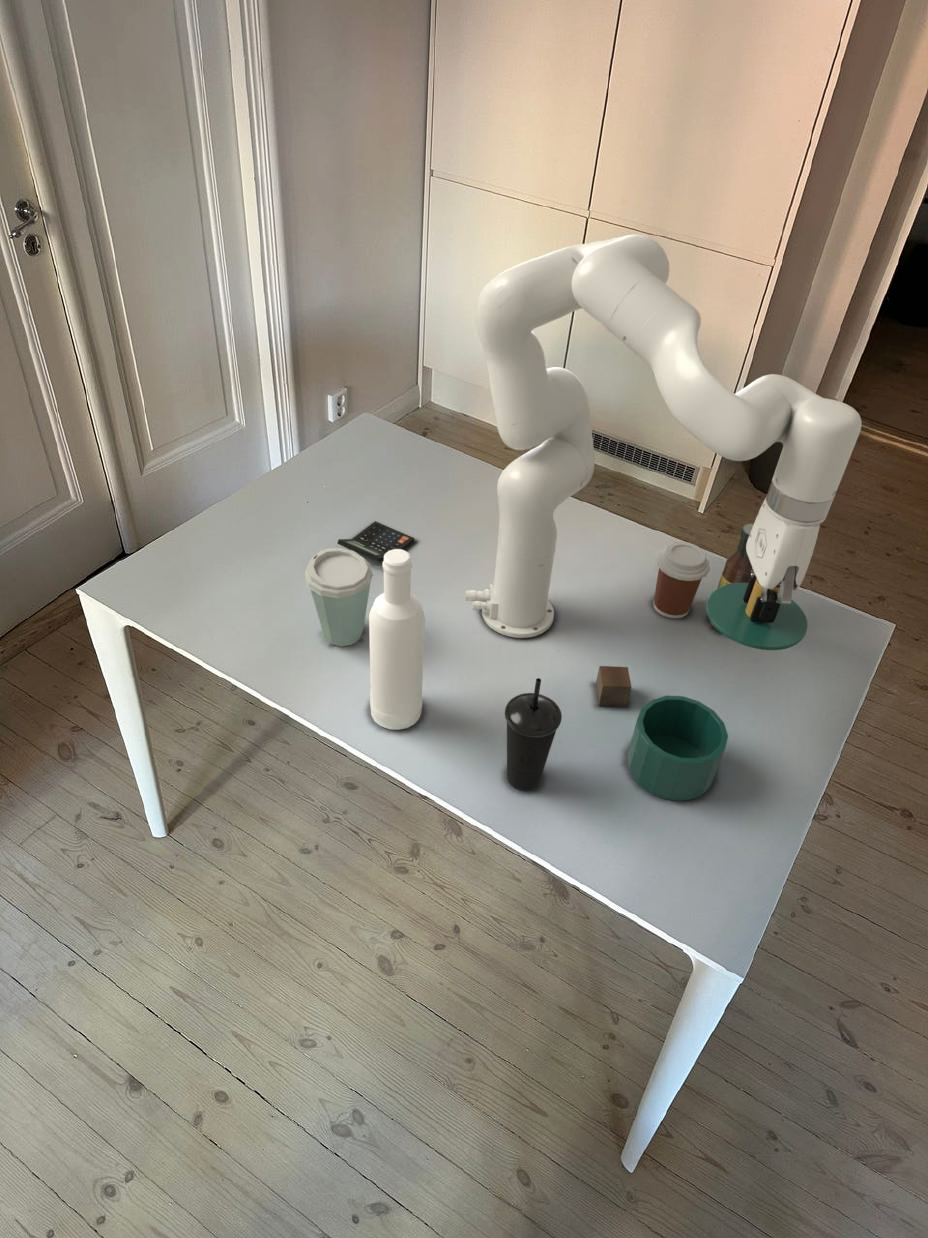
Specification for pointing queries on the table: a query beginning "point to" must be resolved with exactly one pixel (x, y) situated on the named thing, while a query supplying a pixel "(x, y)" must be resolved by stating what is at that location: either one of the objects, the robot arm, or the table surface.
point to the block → (613, 686)
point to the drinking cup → (529, 736)
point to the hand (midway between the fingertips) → (758, 610)
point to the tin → (676, 747)
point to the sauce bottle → (738, 563)
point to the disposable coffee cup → (340, 593)
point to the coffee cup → (679, 578)
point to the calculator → (377, 541)
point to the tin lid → (736, 624)
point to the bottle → (396, 647)
